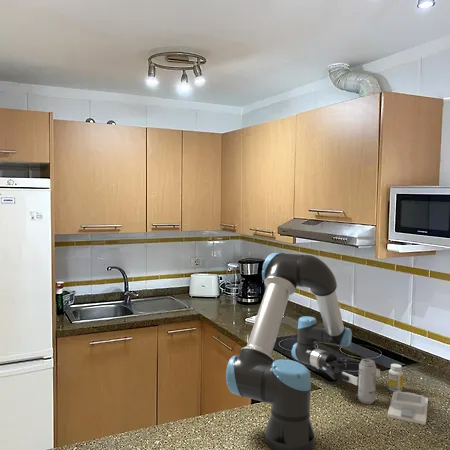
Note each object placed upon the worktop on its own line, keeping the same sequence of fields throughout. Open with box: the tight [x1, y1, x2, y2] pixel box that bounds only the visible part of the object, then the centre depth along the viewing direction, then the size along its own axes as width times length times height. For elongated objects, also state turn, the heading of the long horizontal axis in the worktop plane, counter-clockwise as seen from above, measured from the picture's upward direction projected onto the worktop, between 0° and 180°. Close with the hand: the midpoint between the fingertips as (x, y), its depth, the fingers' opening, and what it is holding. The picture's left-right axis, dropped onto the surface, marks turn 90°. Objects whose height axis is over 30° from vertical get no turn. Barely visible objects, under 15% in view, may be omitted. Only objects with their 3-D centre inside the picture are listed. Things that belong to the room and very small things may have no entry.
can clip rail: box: [387, 391, 429, 426], centre depth 158 cm, size 21×12×4 cm, turn 154°
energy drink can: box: [357, 358, 377, 405], centre depth 163 cm, size 6×6×15 cm
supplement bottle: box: [387, 363, 404, 392], centre depth 175 cm, size 5×5×10 cm
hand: (368, 377), depth 163 cm, fingers open, 13 cm apart
